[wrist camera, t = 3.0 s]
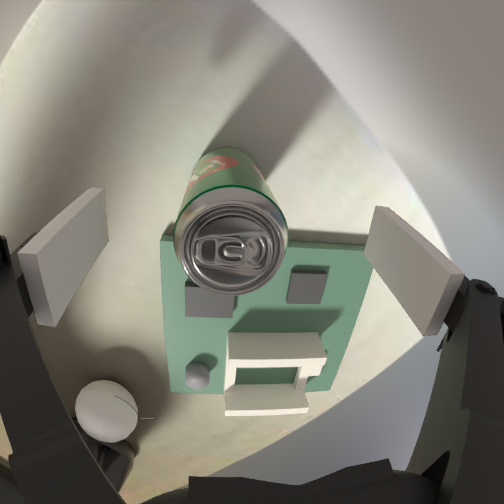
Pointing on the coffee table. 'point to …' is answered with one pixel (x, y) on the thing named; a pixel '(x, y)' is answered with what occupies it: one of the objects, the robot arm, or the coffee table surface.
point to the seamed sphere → (106, 411)
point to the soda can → (229, 226)
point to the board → (264, 329)
